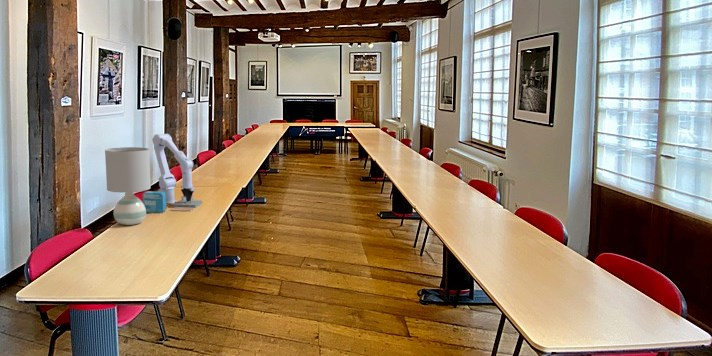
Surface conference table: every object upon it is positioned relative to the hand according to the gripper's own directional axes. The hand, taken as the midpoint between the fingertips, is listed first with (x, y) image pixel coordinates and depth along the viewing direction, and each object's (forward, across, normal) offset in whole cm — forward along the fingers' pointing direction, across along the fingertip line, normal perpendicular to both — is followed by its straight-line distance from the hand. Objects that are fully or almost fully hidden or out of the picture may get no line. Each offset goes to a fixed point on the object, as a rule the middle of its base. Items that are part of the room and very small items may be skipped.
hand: (187, 200), depth 341 cm
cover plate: (+3, 0, 0) cm, 3 cm away
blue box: (+3, -5, +23) cm, 24 cm away
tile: (+3, -9, +8) cm, 12 cm away
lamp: (+3, -23, +45) cm, 50 cm away
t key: (+3, 0, 0) cm, 3 cm away
